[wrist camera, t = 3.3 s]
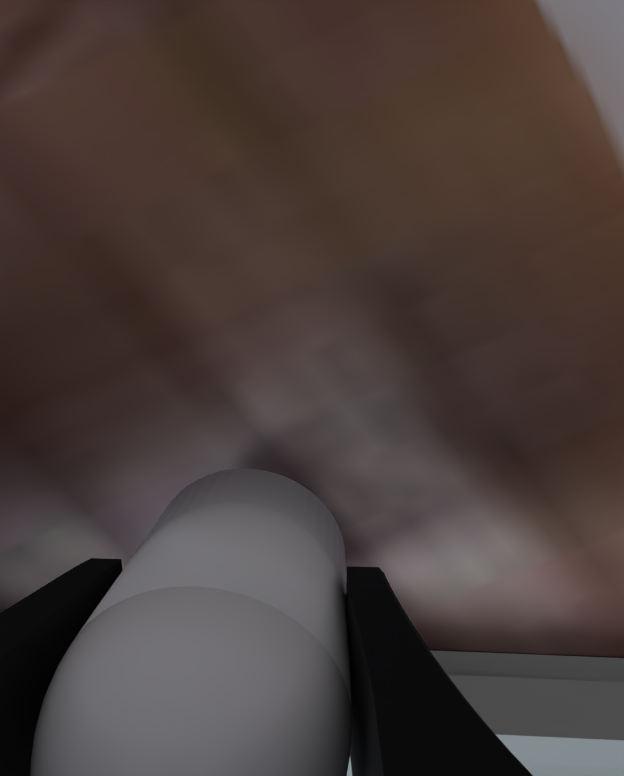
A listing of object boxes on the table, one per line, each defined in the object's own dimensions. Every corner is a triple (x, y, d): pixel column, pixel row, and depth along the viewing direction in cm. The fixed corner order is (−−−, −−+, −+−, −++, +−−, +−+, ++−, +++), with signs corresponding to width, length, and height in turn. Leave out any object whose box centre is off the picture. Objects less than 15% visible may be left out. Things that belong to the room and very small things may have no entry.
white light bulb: (343, 642, 11) (354, 1060, 5) (161, 635, 12) (-27, 1032, 6) (347, 470, 10) (367, 751, 4) (147, 466, 10) (-103, 728, 4)
